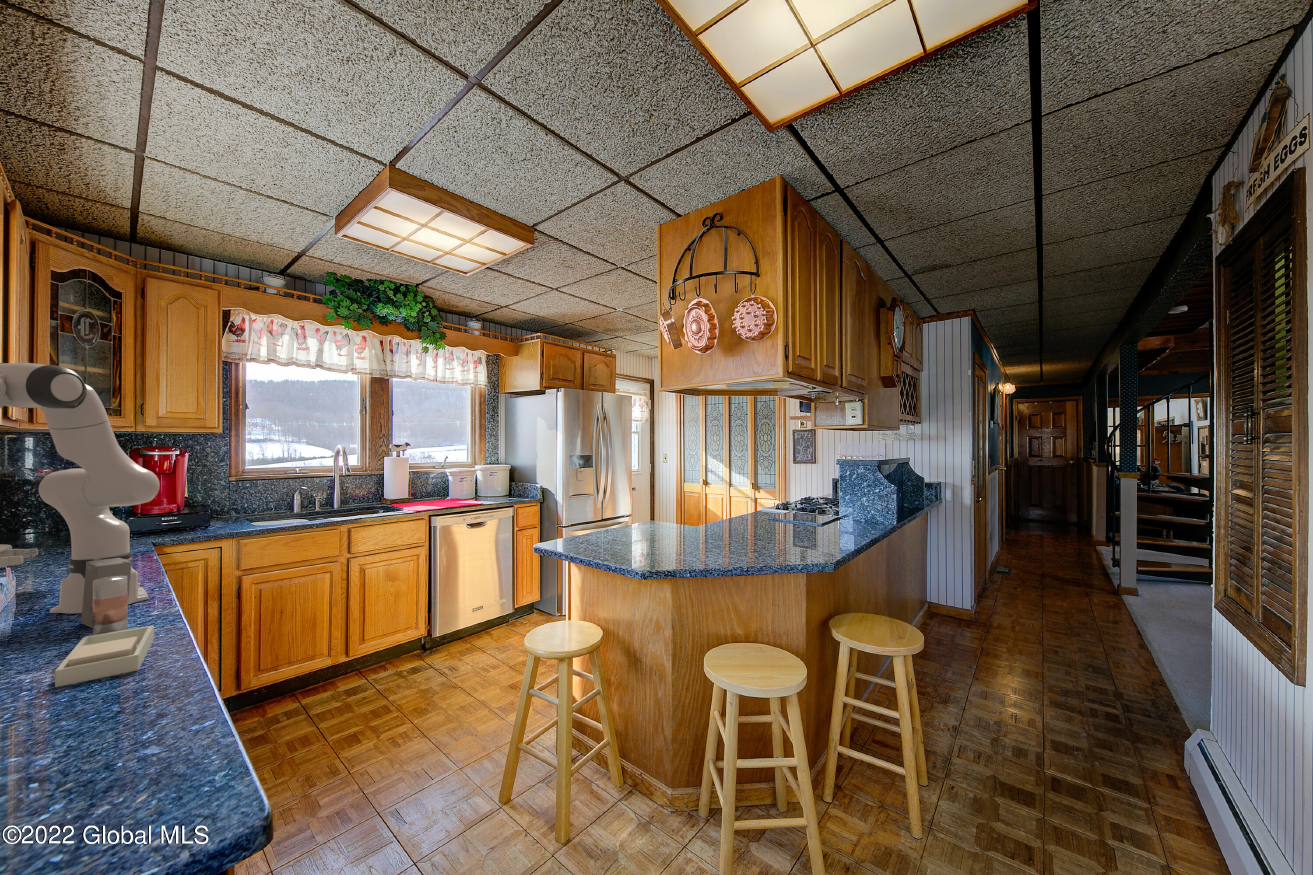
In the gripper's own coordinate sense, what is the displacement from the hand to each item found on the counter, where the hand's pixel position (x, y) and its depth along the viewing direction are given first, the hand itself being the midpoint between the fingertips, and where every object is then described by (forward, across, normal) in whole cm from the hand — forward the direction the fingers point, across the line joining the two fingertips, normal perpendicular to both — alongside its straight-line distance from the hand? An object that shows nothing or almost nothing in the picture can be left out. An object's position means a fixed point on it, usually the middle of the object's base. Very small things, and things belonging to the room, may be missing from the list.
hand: (30, 555), depth 111 cm
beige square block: (+15, -26, +20) cm, 36 cm away
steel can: (+12, 0, +21) cm, 24 cm away
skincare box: (+9, +16, +21) cm, 28 cm away
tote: (+15, -21, +21) cm, 33 cm away
